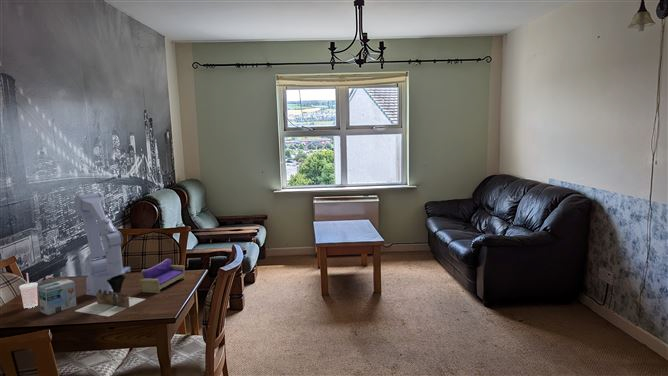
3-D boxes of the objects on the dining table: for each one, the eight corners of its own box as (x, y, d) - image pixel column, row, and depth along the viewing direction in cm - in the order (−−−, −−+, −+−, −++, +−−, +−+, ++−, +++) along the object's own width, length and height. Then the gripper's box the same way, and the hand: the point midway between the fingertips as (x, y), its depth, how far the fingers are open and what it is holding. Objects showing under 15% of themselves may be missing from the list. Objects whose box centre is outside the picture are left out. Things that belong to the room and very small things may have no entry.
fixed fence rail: (117, 306, 166) (115, 293, 166) (119, 305, 167) (118, 292, 167) (127, 308, 164) (125, 294, 164) (129, 306, 166) (128, 293, 165)
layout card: (74, 312, 163) (74, 310, 163) (113, 295, 180) (113, 294, 180) (108, 317, 157) (108, 316, 157) (145, 300, 173) (145, 298, 173)
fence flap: (118, 304, 168) (117, 291, 167) (115, 305, 166) (114, 292, 166) (99, 301, 171) (98, 289, 171) (97, 302, 170) (95, 290, 169)
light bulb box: (48, 316, 160) (45, 289, 158) (40, 312, 163) (37, 286, 162) (77, 306, 169) (75, 280, 168) (69, 303, 172) (66, 278, 171)
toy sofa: (158, 295, 180) (156, 271, 178) (140, 293, 182) (138, 270, 181) (186, 279, 200) (184, 258, 199) (170, 278, 202) (169, 257, 201)
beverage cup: (18, 310, 167) (14, 276, 165) (26, 304, 173) (22, 271, 171) (35, 308, 168) (31, 274, 166) (42, 302, 174) (39, 270, 172)
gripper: (108, 267, 164) (111, 300, 165) (135, 257, 178) (137, 288, 179) (93, 266, 166) (97, 299, 167) (121, 256, 179) (124, 287, 181)
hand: (117, 293), depth 173 cm, fingers closed
